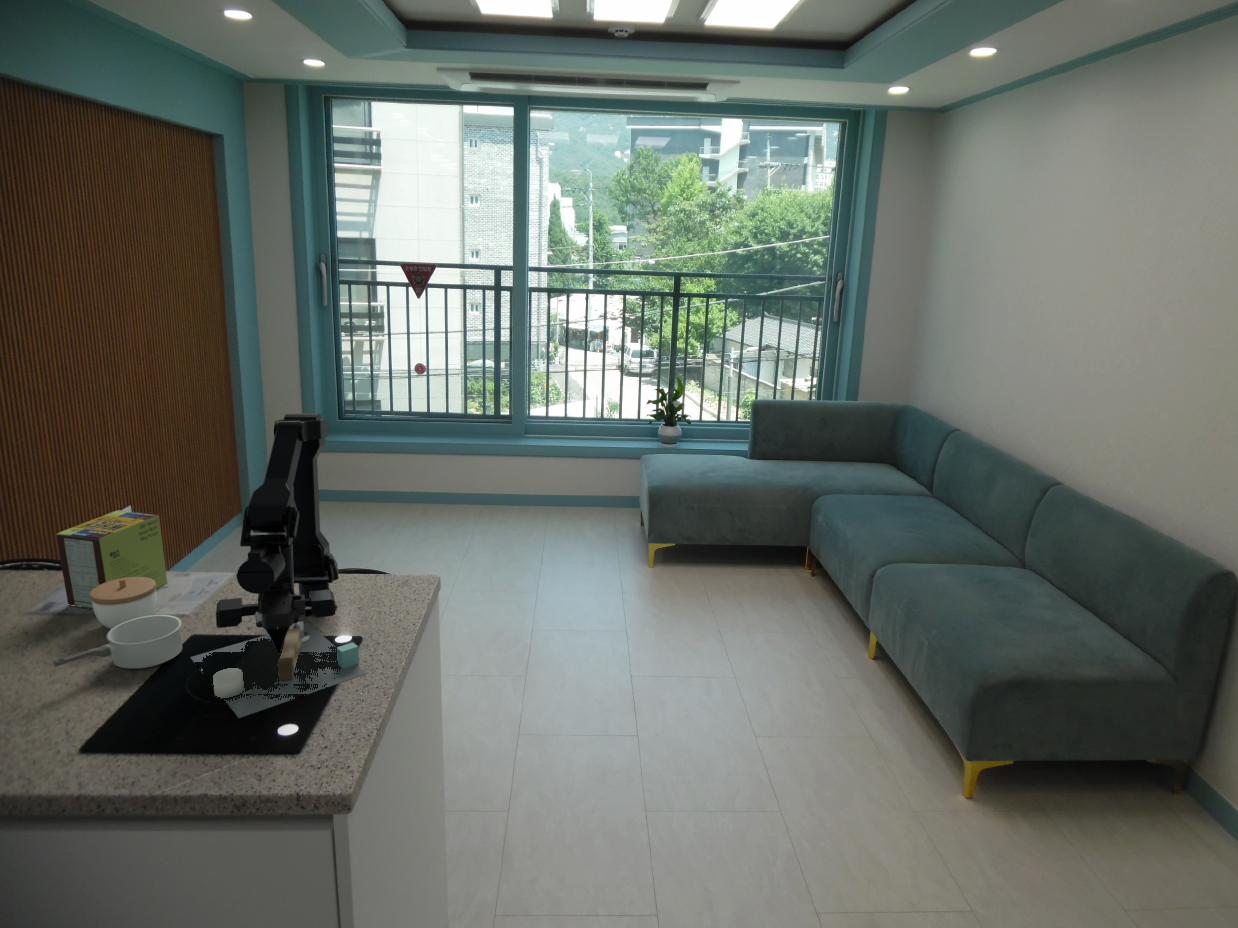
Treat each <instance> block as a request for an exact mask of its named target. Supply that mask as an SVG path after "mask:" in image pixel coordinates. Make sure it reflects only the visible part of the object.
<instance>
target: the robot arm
mask: <svg viewBox="0 0 1238 928" xmlns="http://www.w3.org/2000/svg"><path fill="white" fill-rule="evenodd" d="M328 426H329V425H328V421H327V419H326V418H322V415H321V413H318V412H317V413H316V412H315V413H309V412H307V413H306V412H305V413H285V415H284V417H283V419H281V418H280V419H276V420H274V425H273V437H274V439H273V442H272V448H271V452H270V455H269V459H268V463H267V467H266V472H265V476H264V479H263V481H262V482H263V483H262V484H261V485H260V486H259V487H258V488H256V489H255V490H254V491H253V492H252V493H251V497H250V499H249V502H248V504H247V505H246V506H245V509H244V513H243V518H242V519H243V521H242V528H241V536H240V541H239V542H240V543H239V545H240V547H241V548H242V547H249V548H250V550H249V551H248V552H247V558H246V559H245V560H244V561H243V562H242V564H240V566H239V568H238V570H237V573H236V579H237V583H238V585H239V586H240V587H241V589H242V590H244V591H246V592H247V593H250V594H255V595H256V594H257V603H247V604H243V598H242V597H235V598H227V599H225V598H223V599H220V600H218V602H217V603H216V610H215V622H216V623H215V624H216V625H215V626H216V628H220V629H223V628H231V627H232V628H233V627H238V626H239V625H240V624H241V623H242V622H243V617H248V616H254V618H255V626H256V627H257V628H263V629H264V630H265V631H266V632H267V635H268V634H269V635H270V637H271V639H272V642H273V644H274V646H275V648H276V650H277V654H280V650H281V647H282V644H283V641H284V638H285V636H286V633H287V631H288V629H289V628H290V626H291V625H292V624H296V623H298V622H299V618H300V617H301V616H304V617H311V616H313V617H315V618H317V619H318V618H325V617H327V618H328V617H333V616H335V615H336V609H338V605H337V604H336V600H335V595H334V592H333V591H332V590H331V589H330V584H333V582H334V581H338V580H339V579H340V578H339V577H340V576H339V575H340V574H339V568H338V562H337V561H336V559H335V557H334V555H333V553H332V552H331V549H330V542H329V541H328V540H327V538H326V537H325V536H324V534H323V533H322V531H321V527H320V526H321V523H320V521H321V519H320V497H319V475H318V474H319V473H318V472H319V470H318V457H319V456H320V454H321V452H322V451H323V449H324V448H325V445H326V438H327V437H328V431H329V430H328V429H329V427H328ZM292 493H293V494H292ZM252 532H253V534H251V533H252ZM254 533H255V534H254ZM295 584H297V585H298V594H297V593H295Z"/></svg>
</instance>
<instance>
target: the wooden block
mask: <svg viewBox="0 0 1238 928" xmlns="http://www.w3.org/2000/svg"><path fill="white" fill-rule="evenodd" d="M301 644H302V642H301V631H300V628H297V629H288V633H287V636H286V639H285V643H284V646H283V649H282V653H281V656H280V658H279V660H278V664H277V666H278V676H279V680H288V679H293V677H294V671H295V667H296V663H297V659H298V655H299V651H300V647H301Z"/></svg>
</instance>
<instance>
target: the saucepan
mask: <svg viewBox="0 0 1238 928" xmlns="http://www.w3.org/2000/svg"><path fill="white" fill-rule="evenodd" d="M182 625H183V622H182V619H180V618H179V617H177V616H175V615H169V614H153V615H151V616H144V617H139V618H135V619H132V620H128V621H126V622H123V623H121V624H119V625H117V626H115V627H114V628H112V629H111V630H110V629H109V631H107V634H106V640H107V641H109V643H107V644H103V645H101V646H100V647H93V648H90V649H86V650H83V651H80V652H77V653H74V654H71V655H68V656H65V657H62V658H59V659H56V660H53V662H52V663H53V666H54V667H56V668H57V667H59V666H62V665H67V664H69V663H72V662H75V661H78V660H82V659H84V658H87V657H91V656H92V657H99V658H106V657H109V656H111V658H112V659H111V660H112V662H113V665H115V666H116V667H119V668H122V669H145V668H146V669H147V668H152V667H155V666H159V665H161V664H163V663H165V662H168V661H171V660H172V659H173V658H175V657H177V656H178V655H179V654H180V653H181V652H182V651H183V641H182V633H181V632H182V631H181V627H182Z"/></svg>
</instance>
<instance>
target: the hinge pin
mask: <svg viewBox="0 0 1238 928" xmlns="http://www.w3.org/2000/svg"><path fill="white" fill-rule="evenodd" d="M298 619H299V618H298ZM303 624H304V620H303V619H299V622H298V623H296V624H292V625H291V626H290V627H289V628H290V629H297V628H300V631H301V642H302V643H303V642H306V641H307V640H309V639H310V634H309V633H306V632H304V626H303ZM285 639H286V637H285Z"/></svg>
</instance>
